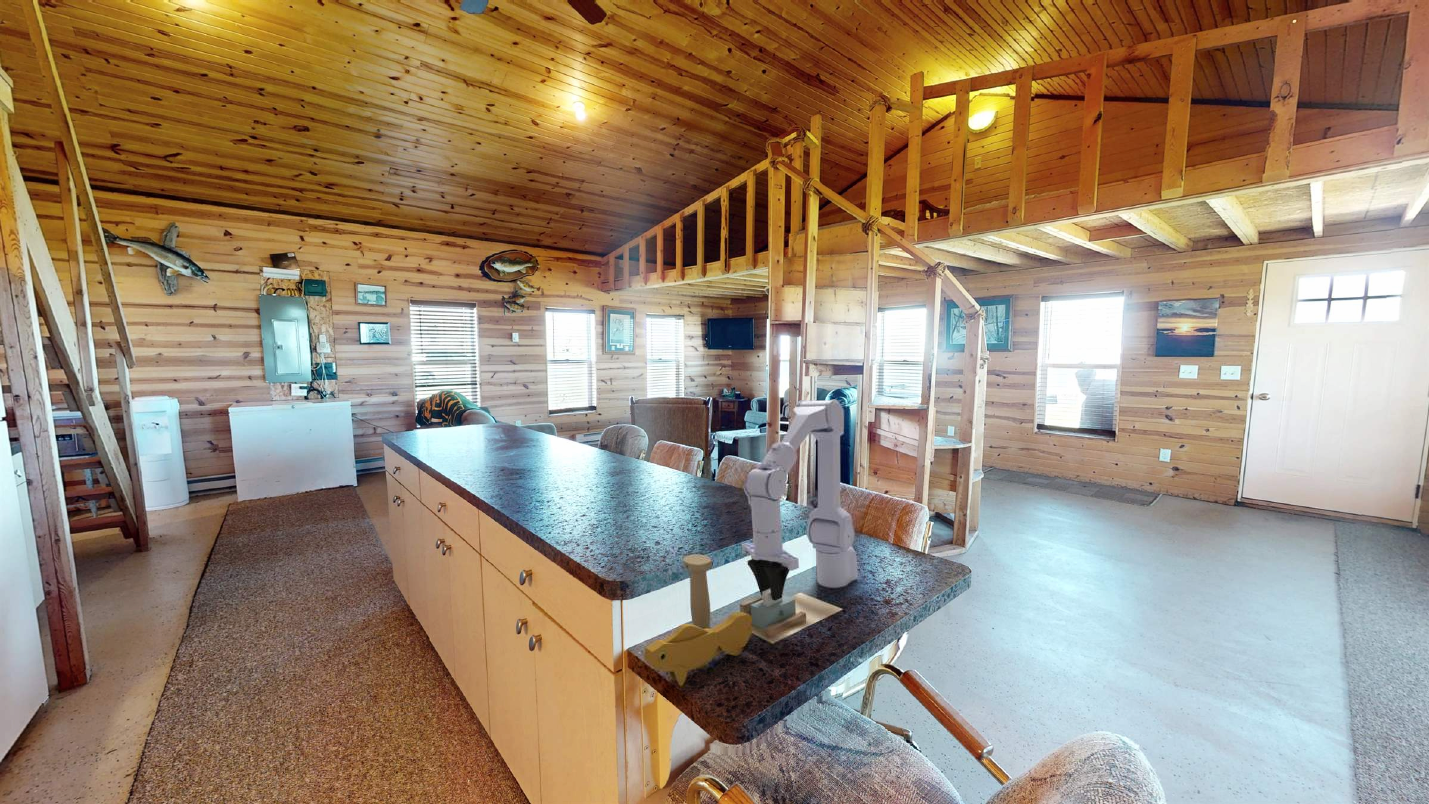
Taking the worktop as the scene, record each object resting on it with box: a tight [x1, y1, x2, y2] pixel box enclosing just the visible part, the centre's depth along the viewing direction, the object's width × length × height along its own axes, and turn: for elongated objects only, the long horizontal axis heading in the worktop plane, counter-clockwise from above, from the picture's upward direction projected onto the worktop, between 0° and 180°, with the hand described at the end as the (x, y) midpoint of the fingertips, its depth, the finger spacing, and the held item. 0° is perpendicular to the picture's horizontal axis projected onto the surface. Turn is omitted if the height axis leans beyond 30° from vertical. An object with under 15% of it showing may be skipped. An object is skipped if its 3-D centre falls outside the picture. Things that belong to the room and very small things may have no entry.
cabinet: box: [750, 589, 796, 631], centre depth 104 cm, size 8×5×6 cm, turn 127°
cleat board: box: [739, 592, 843, 644], centre depth 106 cm, size 20×12×5 cm, turn 127°
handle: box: [682, 553, 713, 629], centre depth 103 cm, size 5×6×15 cm
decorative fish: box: [643, 611, 753, 687], centre depth 90 cm, size 22×3×10 cm, turn 127°
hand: (771, 596), depth 104 cm, fingers open, 3 cm apart
